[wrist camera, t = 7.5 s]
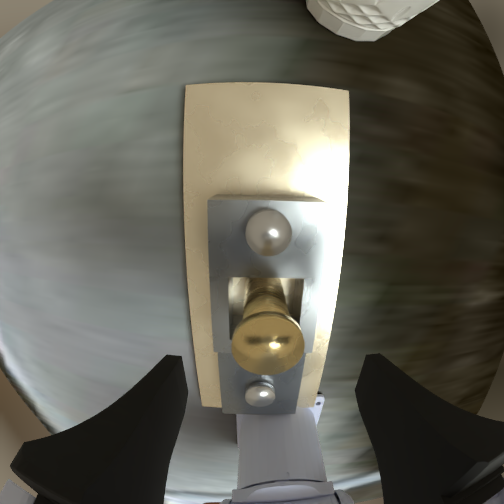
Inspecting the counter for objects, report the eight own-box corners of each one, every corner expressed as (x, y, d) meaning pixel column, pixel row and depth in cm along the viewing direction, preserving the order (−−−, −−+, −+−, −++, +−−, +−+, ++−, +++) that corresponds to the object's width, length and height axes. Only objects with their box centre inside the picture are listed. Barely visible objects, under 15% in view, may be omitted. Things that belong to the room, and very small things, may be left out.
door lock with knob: (312, 399, 22) (320, 438, 18) (203, 398, 22) (196, 437, 18) (343, 94, 15) (371, 73, 10) (189, 89, 15) (168, 64, 10)
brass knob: (286, 308, 18) (300, 374, 12) (239, 308, 18) (232, 374, 12) (289, 264, 17) (308, 317, 11) (239, 263, 17) (230, 317, 11)
